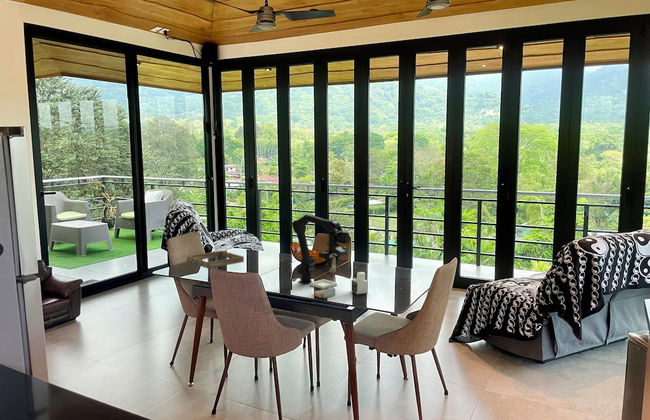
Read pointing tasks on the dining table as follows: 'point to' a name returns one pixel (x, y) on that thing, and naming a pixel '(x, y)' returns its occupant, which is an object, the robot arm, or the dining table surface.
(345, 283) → the dining table surface
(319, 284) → the tray
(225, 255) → the frame
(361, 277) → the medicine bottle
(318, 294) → the peach rectangular block
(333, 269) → the dowel
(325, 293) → the grey sanding sponge
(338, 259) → the robot arm
